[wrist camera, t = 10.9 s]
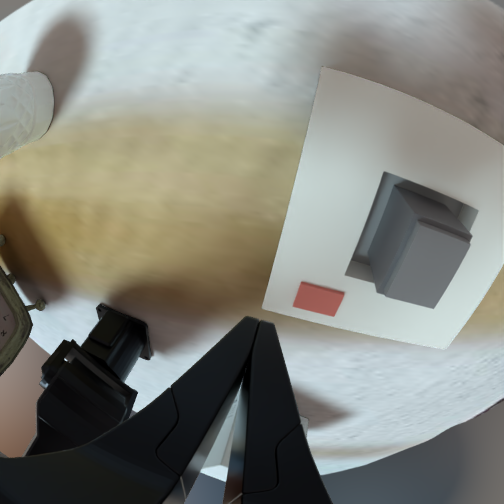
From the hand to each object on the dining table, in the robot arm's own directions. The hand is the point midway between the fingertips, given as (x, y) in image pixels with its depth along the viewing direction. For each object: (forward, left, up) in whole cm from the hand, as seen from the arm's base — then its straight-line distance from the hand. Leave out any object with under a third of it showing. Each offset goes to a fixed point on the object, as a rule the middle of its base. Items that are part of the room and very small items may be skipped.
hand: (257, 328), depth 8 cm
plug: (0, -8, -11) cm, 14 cm away
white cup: (+4, +24, -12) cm, 27 cm away
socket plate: (0, -8, -12) cm, 14 cm away
